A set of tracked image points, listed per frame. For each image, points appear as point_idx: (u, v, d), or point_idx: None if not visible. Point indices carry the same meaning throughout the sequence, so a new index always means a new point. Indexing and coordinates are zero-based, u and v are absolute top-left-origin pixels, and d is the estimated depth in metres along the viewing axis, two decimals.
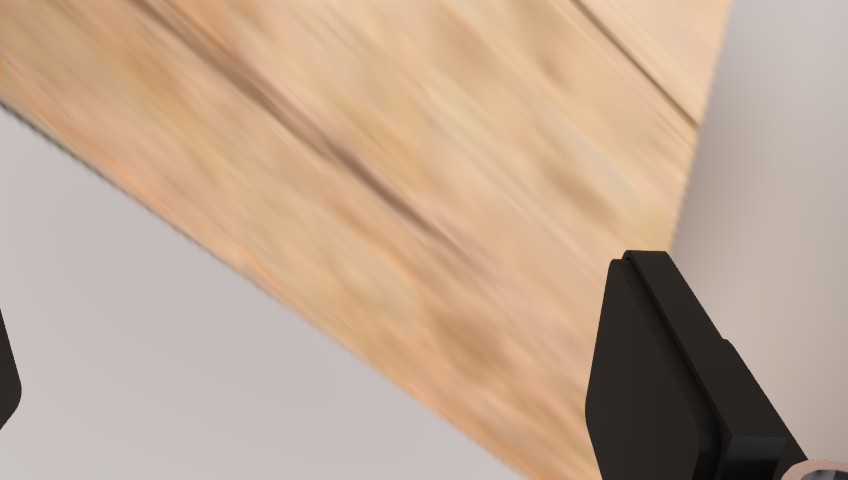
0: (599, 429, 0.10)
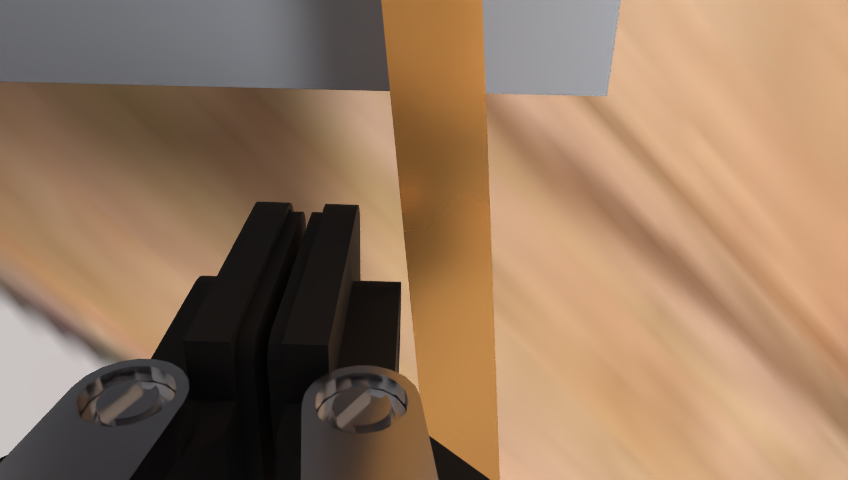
0: None
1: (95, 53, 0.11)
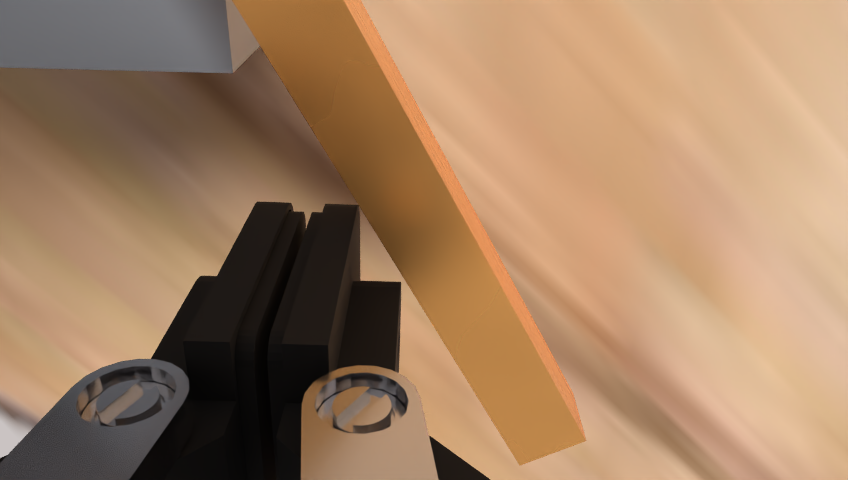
0: None
1: None
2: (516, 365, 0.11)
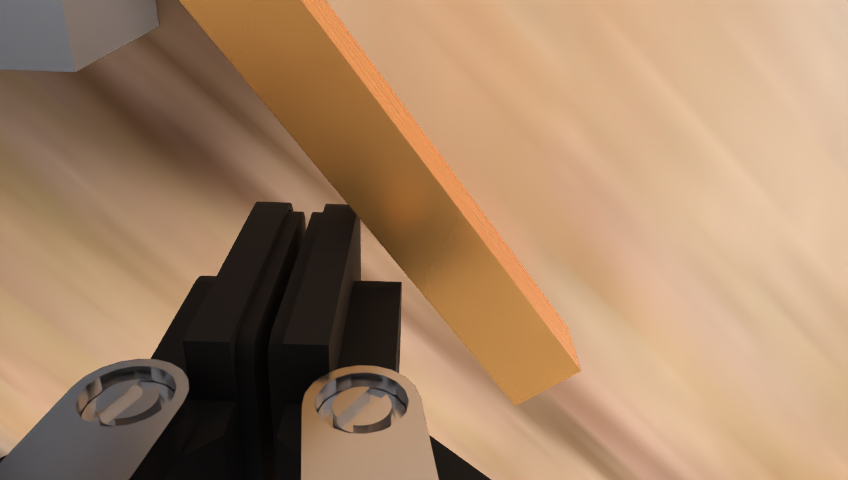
0: None
1: None
2: (492, 296, 0.10)
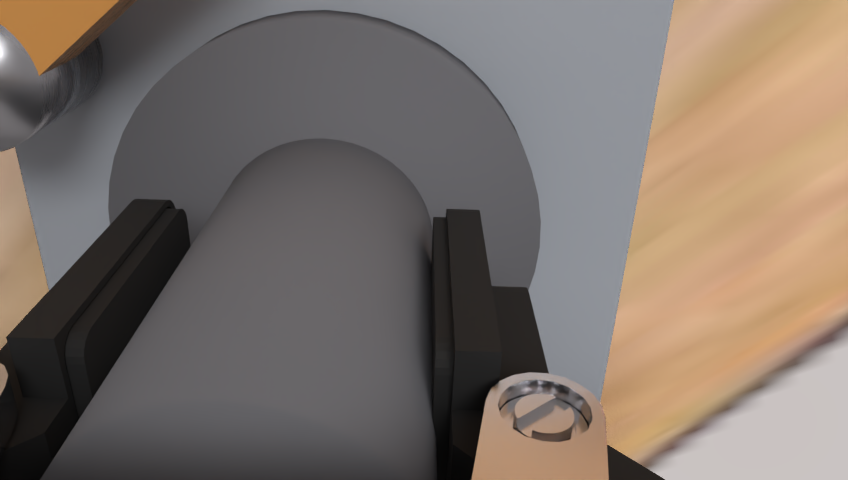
0: None
1: (599, 278, 0.15)
2: None
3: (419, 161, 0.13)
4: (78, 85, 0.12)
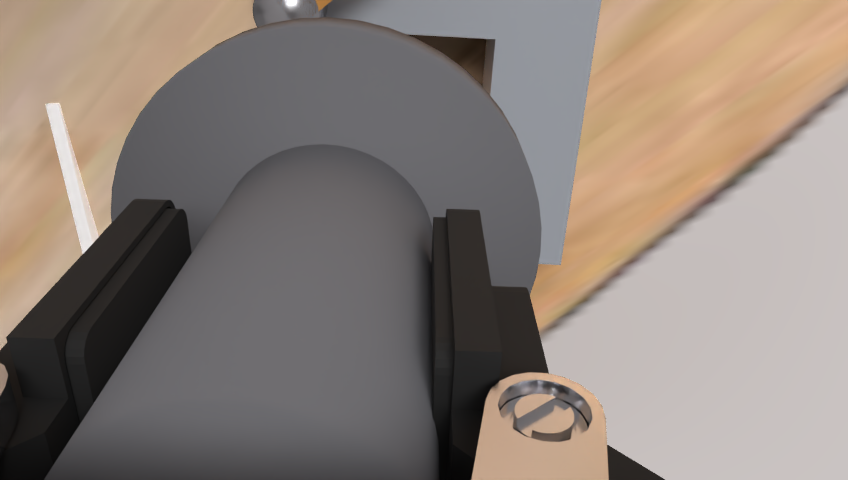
0: None
1: (568, 133, 0.28)
2: None
3: (420, 167, 0.13)
4: None
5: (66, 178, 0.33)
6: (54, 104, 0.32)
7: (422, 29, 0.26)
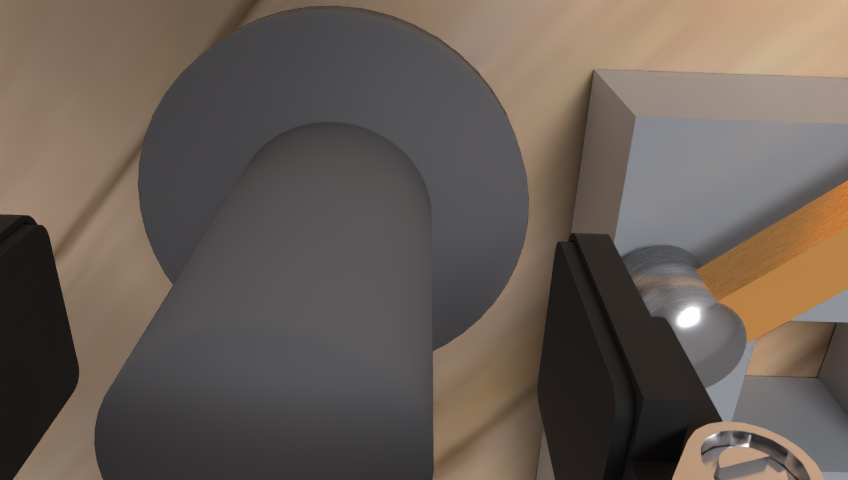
0: (547, 405, 0.11)
1: None
2: None
3: (419, 142, 0.14)
4: None
5: None
6: None
7: (844, 315, 0.16)
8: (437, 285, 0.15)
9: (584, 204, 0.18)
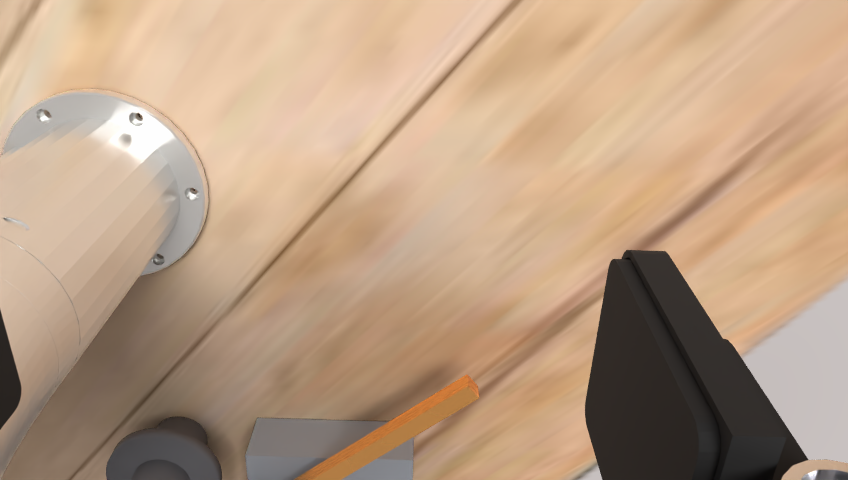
0: (599, 429, 0.10)
1: None
2: (447, 404, 0.45)
3: (183, 463, 0.51)
4: None
5: None
6: None
7: None
8: None
9: None
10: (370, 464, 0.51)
